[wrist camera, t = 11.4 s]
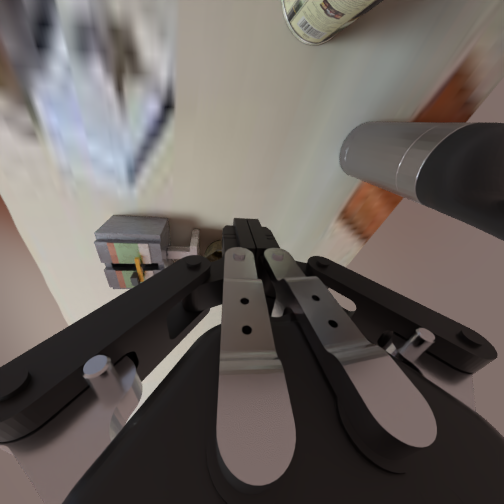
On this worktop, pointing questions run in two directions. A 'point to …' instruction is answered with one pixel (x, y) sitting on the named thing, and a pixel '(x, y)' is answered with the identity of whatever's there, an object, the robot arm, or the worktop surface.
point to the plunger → (174, 253)
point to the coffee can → (322, 17)
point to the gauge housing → (132, 247)
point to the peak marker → (135, 279)
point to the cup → (214, 251)
